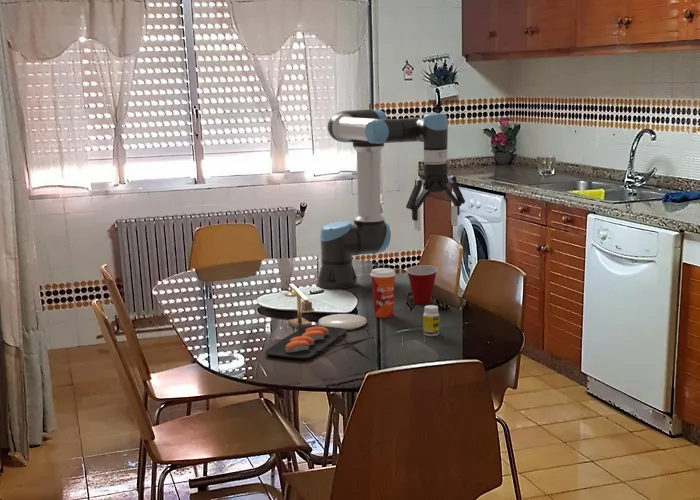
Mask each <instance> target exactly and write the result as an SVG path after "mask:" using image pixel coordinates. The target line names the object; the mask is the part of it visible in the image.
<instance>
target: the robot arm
mask: <svg viewBox="0 0 700 500" xmlns="http://www.w3.org/2000/svg"><path fill="white" fill-rule="evenodd" d="M448 128H449V125H448V115H447V114H446V113H443V112H442V113H441V112H431V113H430V112H429V113H425V114H424V115H423V117H419V116H416V117H415V116H413V117H409V118H392V119H390V118H388V116H387V115H386V113H385V112H384V111H383V110H381V109H354V110H353V109H352V110H341V111H337V112H336V113H334V114H333V115H332V116H331V117H330V118H329V120H328V122H327V132H328V135H330V137H331V138H332V139H333V140H335V141H337V142H340V143H352V147H353V149H355V151H356V162H357V163H356V164H357V165H356V170H357V171H356V172H357V177H356V178H357V181H356V182H357V215H356V216H355V217H354V219H353V224H352V222H351V221H348V220H347V221H346V220H343V221H342V220H341V221H335V222H334V221H333V222H331V223H326V224H325V225H324V226H322V227H321V229H320V238H319V240H320V254H321V255H320V258H321V266H320V270H319V272H318V276H317V280H316V281H317V282H316V283H317V286H318V287H319V288H322V289H330V290H332V289H333V290H338V289H340V290H341V289H348V288H353V287H355V286H357V285H358V277H357V274H356V271H355V268H354V264H353V256H360V255H370V254H373V255H375V254H377V253H378V254H379V253H382V252H383V253H384V252H385V251H387V248H388V247H389V246H390V242H391V238H392V234H391V233H392V232H391V229H390V224H388V222H386V220H385V217H384V216H383V215H382V214H381V151H382V149H383V148H384V147H385V144H391V143H409V142H410V143H414V142H418V143H419V142H421V143H423V162H424V164H423V176H424V178H423V179H419V178H415V180H414V187H413V189H412V191H411V193H410V197H409V198H408V201H407V203H406V206H405V207H406V209H408V210H411V219H412V221H414V230H415V231H416V232H417V231H418V232H421V210H419V209H420V208H421V206H422V204H423V203H424V201H426V199H427V198H428V196H429V195H431V193H437V192H443V194H444V195H445V196H446V197H447V198H448V199H449V201H450V202H451V203H452V205H450V207H451V210H450V212H451V213H450V214H451V215H450V218H451V220H450V222H451V223H450V225H452V226H454V227H458V216H460V208H461V207H462V204H465V202H466V200H465V197H464V195H463V193H462V191H461V189H460V187H459V185H458V180H457V176H455V175H449V176H448V165H449V164H448V163H447V162H448V142H449V141H448V139H449V137H448V134H449V132H448V131H449V129H448ZM448 183H449V185H450V187H451V189H452V191H453V193H454V194H453V193H452V191H451V190H450V188H449V187H448V185H447V184H448ZM422 187H423V189H422ZM421 189H422V190H421Z"/></svg>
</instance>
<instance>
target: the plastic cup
mask: <svg viewBox="0 0 700 500" xmlns="http://www.w3.org/2000/svg"><path fill="white" fill-rule="evenodd" d="M405 271H406V273H407V277H408V280H409V285H410V291H411V293H412V301H413V303H414V304H416V305H430V303H431V302H432V297H433V292H434V288H435V286H434V285H435V281H436V276H437V272H438V271H439V269H438V267H436V266H433V265H428V264H425V265H424V264H422V265H421V264H419V265H413V266H410V267H407V268H406V269H405Z"/></svg>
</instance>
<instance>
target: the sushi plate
mask: <svg viewBox="0 0 700 500" xmlns="http://www.w3.org/2000/svg"><path fill="white" fill-rule="evenodd" d="M346 333H347V330H346V329H343V328H336V327H327V326H320V325H315V324H314V325H313V324H312V325H308V326H304V327H302V328H300V329H297V330H296V331H294V332H293V333H290V334H288V335H287V336H286V337H284V338H282V339H281V340H280V341H278V342H276V343H275V344H273V345H272V346H270V347H269V348H267V349H266V350H265V355H268V356H274V357H281V358H289V359H300V360H305V359H311V358H313V357H315V356H316V355H317V354H319V353H321V352H322V351H325V350H331V349H334V348H338V347H339V348H340V347H342V346H346V345H348V346H350V347H352V348H353V349H354V350H355V351H356V352H357V353H359V354H360V355H361V356H363V357H364V358H367V359H368V360H370V361H373V359H372V358H371V357H369V356H368V355H367V354H365V353H364V352H363V351H361V350H360V349H358V348H357V347H356V346H354V345H353V344H356V343H360V342H363V341H366V340H369V339H372V338H373V336H369V337H366V338H360V339H358V340H357V339H356V340H353V341H347V340H346V339H345V338H344V337H342V336H344V335H345V334H346ZM338 339H341V340H342V341H343V342H344V343H341V344H337V345H334V346H333V345H332V346H330V345H331V344H333V343H334V342H335V341H337V340H338ZM328 346H329V347H328Z"/></svg>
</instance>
